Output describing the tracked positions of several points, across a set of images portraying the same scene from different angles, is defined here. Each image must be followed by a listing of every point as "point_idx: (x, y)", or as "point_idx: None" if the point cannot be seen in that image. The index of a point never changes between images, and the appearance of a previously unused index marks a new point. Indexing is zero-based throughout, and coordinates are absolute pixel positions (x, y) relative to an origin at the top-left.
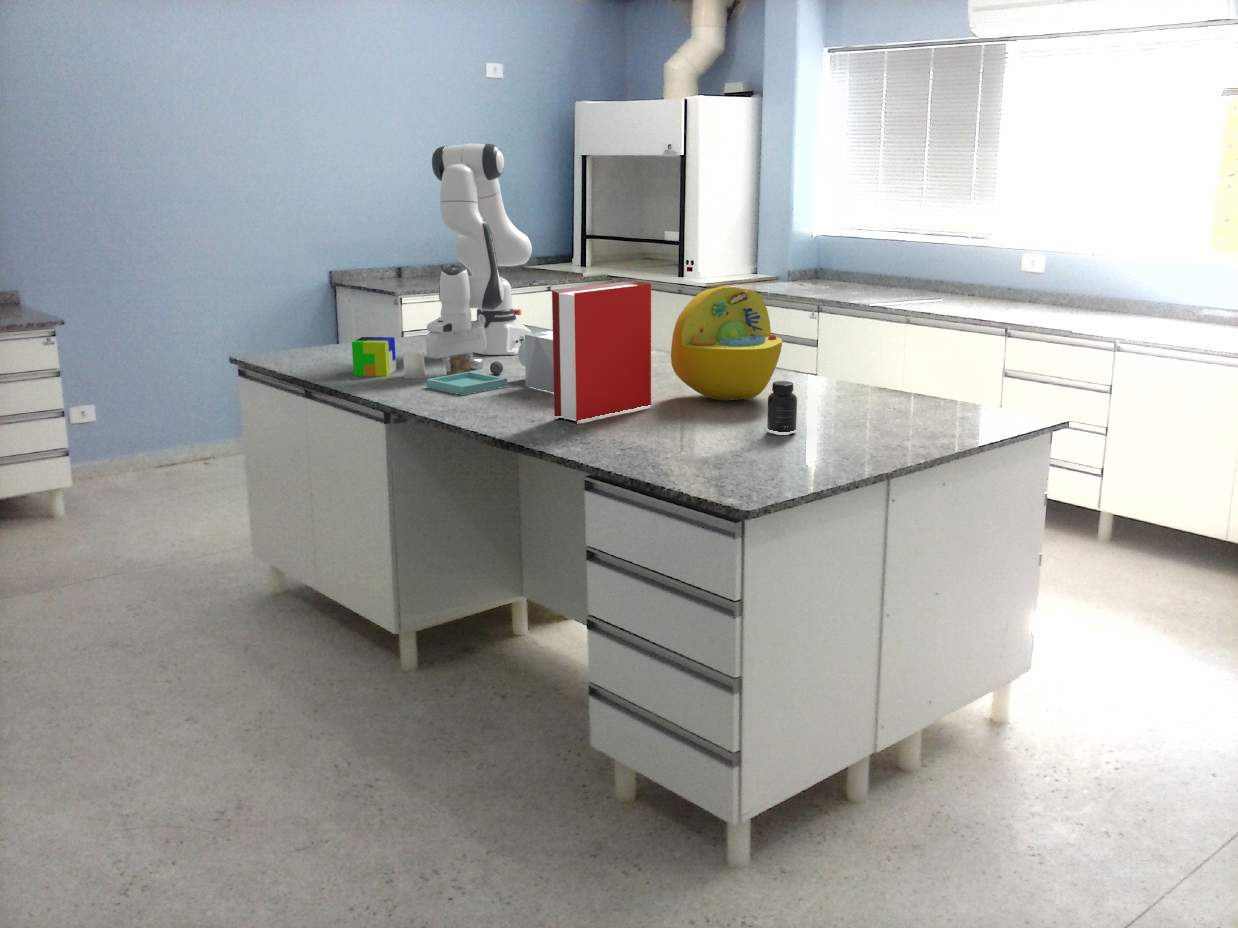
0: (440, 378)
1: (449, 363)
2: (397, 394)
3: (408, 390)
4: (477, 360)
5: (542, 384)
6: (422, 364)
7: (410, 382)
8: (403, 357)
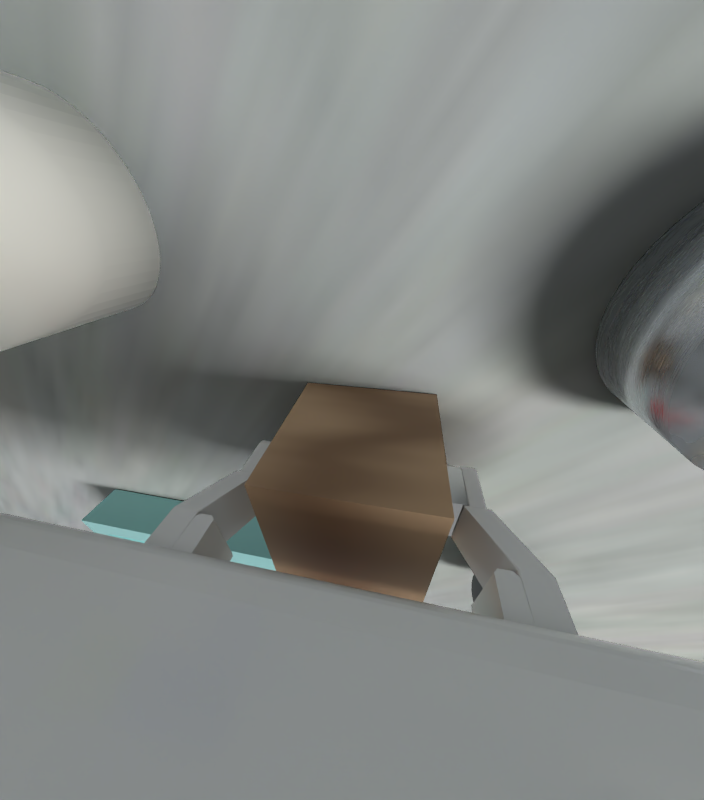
0: (146, 538)
1: (241, 521)
2: (8, 476)
3: (43, 468)
4: None
5: None
6: (12, 346)
7: (44, 368)
8: None
